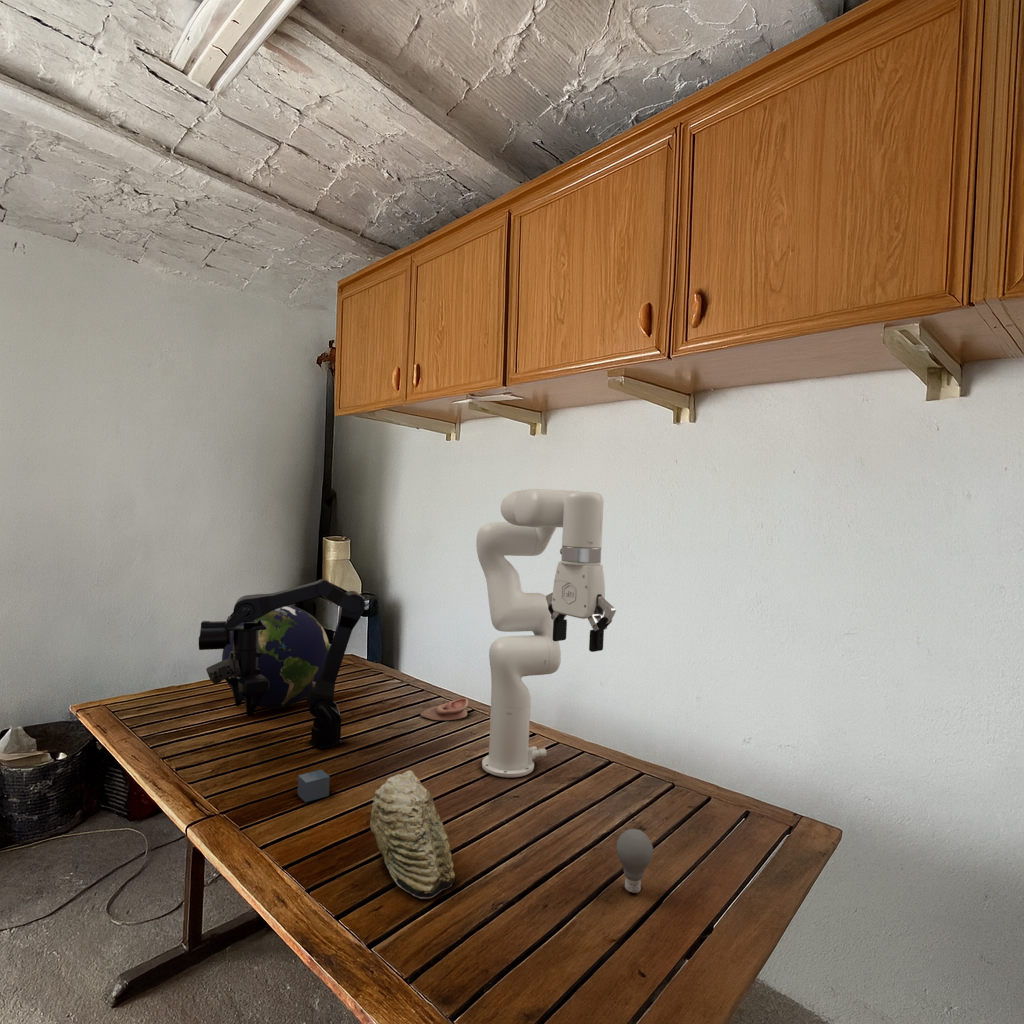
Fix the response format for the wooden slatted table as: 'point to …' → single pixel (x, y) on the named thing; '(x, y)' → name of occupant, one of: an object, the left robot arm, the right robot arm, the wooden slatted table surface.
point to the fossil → (412, 836)
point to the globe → (288, 655)
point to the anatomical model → (447, 710)
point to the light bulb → (634, 857)
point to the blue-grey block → (313, 785)
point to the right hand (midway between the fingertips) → (577, 645)
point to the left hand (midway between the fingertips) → (243, 711)
